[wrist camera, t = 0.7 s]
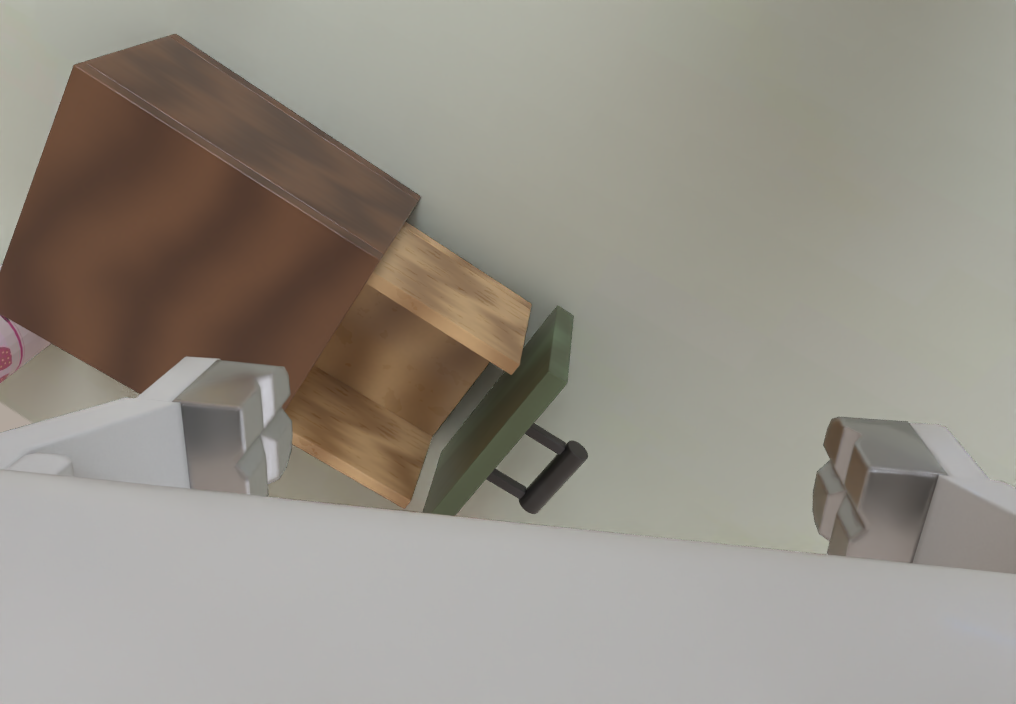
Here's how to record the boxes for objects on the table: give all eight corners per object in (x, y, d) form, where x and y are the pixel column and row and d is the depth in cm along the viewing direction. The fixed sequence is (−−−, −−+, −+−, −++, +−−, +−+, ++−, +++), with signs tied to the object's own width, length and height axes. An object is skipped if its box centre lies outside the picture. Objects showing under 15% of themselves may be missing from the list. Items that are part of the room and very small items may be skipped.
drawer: (632, 353, 49) (635, 426, 43) (509, 492, 56) (495, 575, 49) (363, 176, 46) (319, 224, 39) (263, 345, 52) (211, 412, 45)
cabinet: (421, 196, 47) (380, 260, 39) (309, 372, 54) (253, 459, 45) (175, 32, 44) (73, 63, 36) (89, 240, 51) (-14, 307, 42)
